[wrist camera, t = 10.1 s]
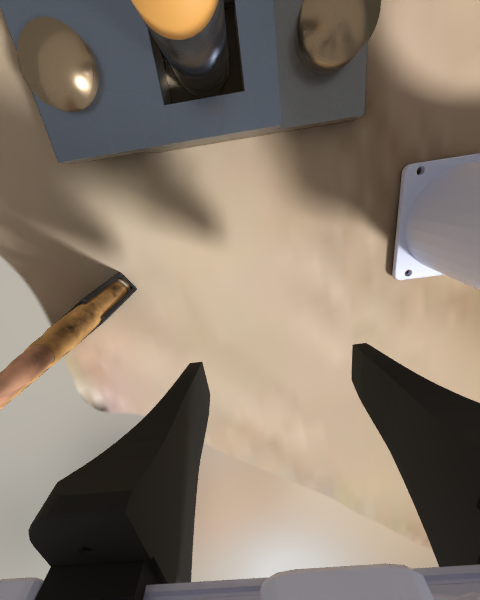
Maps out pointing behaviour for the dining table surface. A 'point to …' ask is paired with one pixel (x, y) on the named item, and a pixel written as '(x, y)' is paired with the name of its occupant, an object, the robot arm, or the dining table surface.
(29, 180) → the dining table surface
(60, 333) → the ammunition clip
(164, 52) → the pin
